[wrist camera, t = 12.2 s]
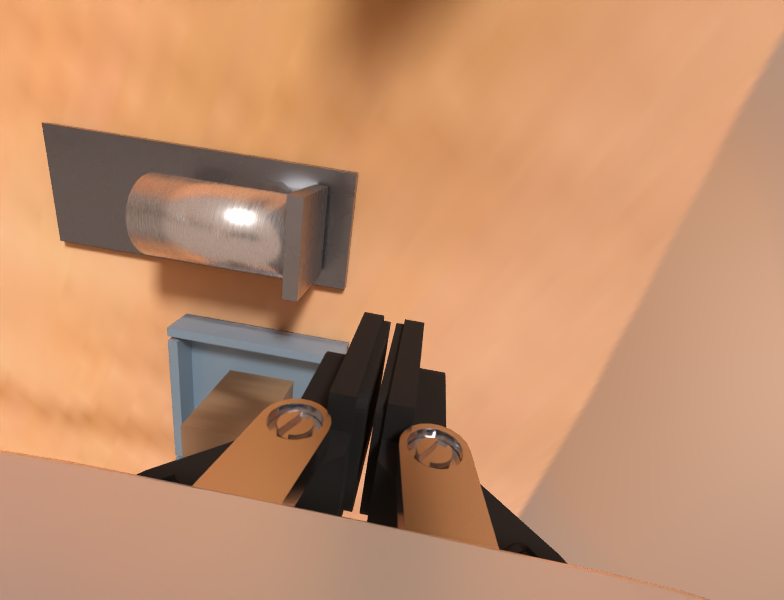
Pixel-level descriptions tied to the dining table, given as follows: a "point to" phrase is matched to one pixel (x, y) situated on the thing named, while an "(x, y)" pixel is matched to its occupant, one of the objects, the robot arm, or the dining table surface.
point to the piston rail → (141, 156)
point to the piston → (231, 227)
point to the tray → (235, 359)
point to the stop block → (231, 409)
